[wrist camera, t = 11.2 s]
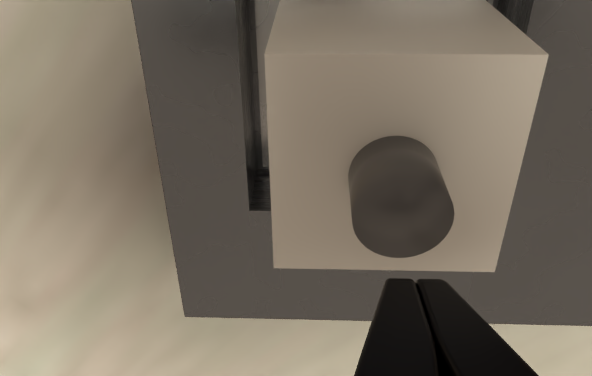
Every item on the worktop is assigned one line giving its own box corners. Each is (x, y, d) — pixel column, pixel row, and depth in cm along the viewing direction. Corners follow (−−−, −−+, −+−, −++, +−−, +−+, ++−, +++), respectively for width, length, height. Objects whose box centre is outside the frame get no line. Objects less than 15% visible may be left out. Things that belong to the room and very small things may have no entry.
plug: (467, -16, 14) (585, 85, 8) (442, 147, 17) (515, 322, 11) (284, -15, 14) (255, 84, 8) (287, 146, 17) (268, 316, 11)
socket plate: (841, -285, 12) (1025, -336, 9) (615, 268, 20) (668, 341, 17) (129, -270, 12) (66, -313, 9) (201, 260, 21) (180, 329, 18)
